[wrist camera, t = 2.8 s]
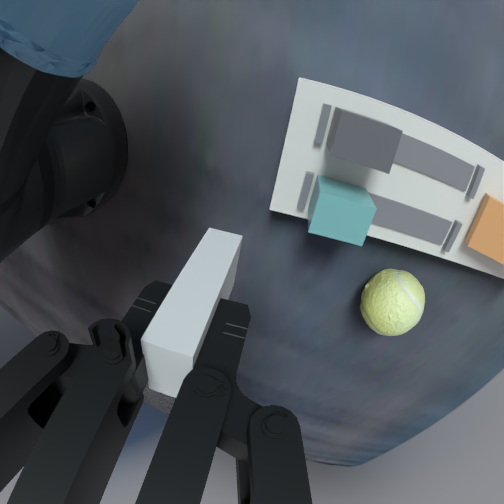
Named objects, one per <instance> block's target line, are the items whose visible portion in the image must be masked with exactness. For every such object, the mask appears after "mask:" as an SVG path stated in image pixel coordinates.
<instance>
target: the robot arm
mask: <svg viewBox="0 0 504 504" xmlns="http://www.w3.org/2000/svg"><path fill="white" fill-rule="evenodd" d="M137 2H138V0H0V262H1V261H3V260H4V259H5V258H6V257H7V256H8V255H9V254H11V253H12V252H13V251H14V250H15V249H16V248H18V247H19V246H20V245H21V244H22V243H24V242H25V241H26V240H27V239H29V238H30V237H31V236H32V235H34V234H35V233H36V232H37V231H39V230H40V229H41V228H43V227H44V226H45V225H48V224H52V223H56V222H60V221H64V220H68V219H73V218H77V217H81V216H85V215H87V214H89V213H91V212H93V211H94V210H96V209H97V208H99V207H100V206H101V205H103V204H104V203H105V202H107V201H108V200H109V199H110V198H111V197H112V196H113V195H114V193H115V192H116V190H117V189H118V187H119V185H120V183H121V181H122V178H123V175H124V171H125V167H126V161H127V138H126V131H125V127H124V123H123V120H122V117H121V114H120V112H119V110H118V108H117V106H116V104H115V102H114V101H113V99H112V98H111V97H110V95H109V94H108V93H107V92H106V91H105V90H104V89H103V88H101V87H100V86H99V85H97V84H96V83H94V82H91V81H89V80H85V79H81V78H82V77H83V75H84V74H87V73H89V72H90V71H91V70H92V68H93V67H94V66H95V64H96V63H97V59H98V58H99V56H100V54H101V50H102V48H103V47H104V45H105V44H106V43H107V41H108V40H109V38H110V37H111V36H112V34H113V33H114V32H115V30H116V29H117V28H118V27H119V25H120V24H121V23H122V22H123V20H124V19H125V18H126V17H127V15H128V14H129V13H130V12H131V11H132V9H133V8H134V7H135V5H136V4H137ZM242 237H243V236H241V235H237V234H233V233H229V232H225V231H221V230H216V229H212V228H209V229H208V230H207V232H206V234H205V235H204V237H203V238H202V240H201V241H200V243H199V244H198V246H197V248H196V249H195V251H194V252H193V254H192V255H191V257H190V259H189V260H188V262H187V263H186V265H185V267H184V268H183V270H182V271H181V273H180V275H179V276H178V278H177V279H176V281H175V283H174V284H173V286H172V285H169V284H166V283H162V282H159V281H154V282H152V283H151V284H149V285H148V286H146V287H145V288H144V289H143V291H142V292H141V293H140V295H139V296H138V299H136V301H135V302H134V303H133V306H132V307H131V308H130V309H129V311H128V312H127V314H126V315H125V317H124V318H123V320H122V321H119V320H115V319H101V320H99V321H97V322H94V323H93V324H92V325H91V326H90V327H89V328H88V329H89V333H90V336H91V339H92V342H93V345H82V344H73V343H69V341H68V339H67V338H66V337H65V335H64V334H62V333H60V332H58V331H47V332H44V333H42V334H41V335H39V336H38V337H36V339H34V340H33V341H32V342H31V343H30V344H28V345H27V346H26V347H25V348H24V349H22V350H21V351H20V352H19V353H18V354H17V355H16V356H14V357H13V358H12V359H11V360H10V361H9V362H8V363H7V364H6V365H4V366H3V367H2V368H1V369H0V492H1V491H2V490H3V489H4V487H5V486H6V485H7V484H8V483H9V482H10V481H11V480H12V479H13V478H14V476H15V475H16V474H17V473H18V472H19V471H20V470H21V469H22V467H24V468H23V470H22V472H21V474H20V476H19V478H18V480H17V482H16V485H15V487H14V489H13V491H12V493H11V496H10V498H9V500H8V503H7V504H100V501H101V499H102V496H103V494H104V491H105V489H106V486H107V484H108V481H109V479H110V476H111V474H112V472H113V469H114V467H115V465H116V462H117V460H118V457H119V455H120V453H121V451H122V448H123V446H124V444H125V441H126V439H127V437H128V435H129V432H130V430H131V428H132V425H133V423H134V421H135V419H136V416H137V414H138V412H139V410H140V408H141V405H142V403H143V399H144V395H143V390H144V388H145V386H146V384H147V382H148V385H149V389H152V390H154V391H157V392H160V393H163V394H166V395H169V396H172V397H175V398H176V399H175V402H174V405H173V407H172V410H171V412H170V415H169V417H168V420H167V422H166V425H165V427H164V430H163V433H162V435H161V438H160V440H159V443H158V445H157V448H156V451H155V453H154V456H153V458H152V461H151V464H150V466H149V469H148V471H147V474H146V477H145V479H144V482H143V485H142V487H141V490H140V492H139V495H138V498H137V500H136V503H135V504H200V502H201V498H202V495H203V491H204V488H205V484H206V481H207V477H208V474H209V470H210V467H211V463H212V460H213V456H214V452H215V449H216V447H218V448H220V449H221V450H223V451H225V452H227V453H228V454H230V455H232V456H233V457H235V458H236V469H237V470H236V471H237V490H238V504H312V499H311V492H310V486H309V480H308V473H307V467H306V460H305V454H304V448H303V442H302V436H301V430H300V425H299V422H298V420H297V417H296V416H295V415H294V414H293V413H292V412H291V411H290V410H288V409H286V408H284V407H282V406H275V405H270V406H265V407H262V406H261V405H259V404H257V403H255V402H253V401H252V400H250V399H248V398H247V397H246V396H244V395H243V393H242V392H241V391H240V390H239V388H238V386H237V383H236V372H237V368H238V364H239V360H240V356H241V353H242V349H243V345H244V341H245V337H246V333H247V329H248V325H249V322H250V318H251V315H250V312H249V308H248V305H246V304H242V303H238V302H234V301H230V300H228V299H229V296H230V293H231V290H232V288H233V285H234V280H235V274H236V269H237V263H238V258H239V253H240V247H241V242H242ZM24 465H25V466H24Z"/></svg>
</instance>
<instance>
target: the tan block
mask: <svg viewBox="0 0 504 504" xmlns="http://www.w3.org/2000/svg"><path fill="white" fill-rule="evenodd" d="M465 242H466V244H467V246H469V247H471V248H473V249H475V250H477V251H478V252H480V253H482V254H484V255H486V256H488V257H490V258H492V259H494V260H496V261H497V262H499V263H501V264H503V265H504V203H502V202H500V201H499V200H497V199H495V198H494V197H492V196H490V195H488V194H487V193H485V196H484V198H483V201H482V203H481V206H480V208H479V210H478V213H477V215H476V217H475V219H474V222H473V224H472V226H471V228H470V230H469V232H468V234H467V236H466V238H465Z"/></svg>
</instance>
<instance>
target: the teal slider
mask: <svg viewBox="0 0 504 504" xmlns="http://www.w3.org/2000/svg"><path fill="white" fill-rule="evenodd" d="M376 209H377V208H376V206H375V204H374V202H373V200H372V199H371V197H370V195H369V193H368V191H367V190H366V189H365V188H362V187H359V186H356V185H352V184H349V183H346V182H342V181H339V180H335V179H332V178H328V177H324V176H321V175H317V179H316V183H315V186H314V190H313V193H312V197H311V200H310V204H309V207H308V232H309V233H313V234H317V235H321V236H325V237H329V238H333V239H336V240H340V241H344V242H348V243H351V244H355V245H359V246H362V245H363V242H364V240H365V237H366V235H367V233H368V230H369V228H370V225H371V222H372V220H373V217H374V215H375V212H376Z"/></svg>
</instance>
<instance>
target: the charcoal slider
mask: <svg viewBox="0 0 504 504" xmlns="http://www.w3.org/2000/svg"><path fill="white" fill-rule="evenodd" d="M402 132H403V131H402V130H400V129H398V128H396V127H393V126H391V125H389V124H387V123H384V122H382V121H379V120H376V119H373V118H370V117H367V116H364V115H361V114H358V113H355V112H352V111H349V110H345V109H342V108H339V107H335V111H334V115H333V119H332V122H331V126H330V130H329V134H328V138H327V142H326V146H327V148H328V151H329V153H330V156H333V157H336V158H340V159H343V160H347V161H350V162H353V163H356V164H360V165H363V166H366V167H369V168H372V169H375V170H378V171H381V172H384V173H387V174H389V173H390V170H391V167H392V164H393V161H394V158H395V155H396V152H397V148H398V145H399V142H400V139H401V135H402Z"/></svg>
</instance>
